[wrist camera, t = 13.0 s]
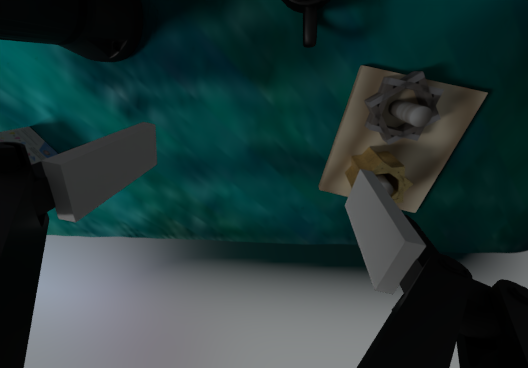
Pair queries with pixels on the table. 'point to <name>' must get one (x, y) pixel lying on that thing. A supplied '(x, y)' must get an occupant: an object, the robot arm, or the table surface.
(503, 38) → the table surface
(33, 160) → the ink box
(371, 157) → the brass gear
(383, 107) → the gear board
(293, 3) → the mug
